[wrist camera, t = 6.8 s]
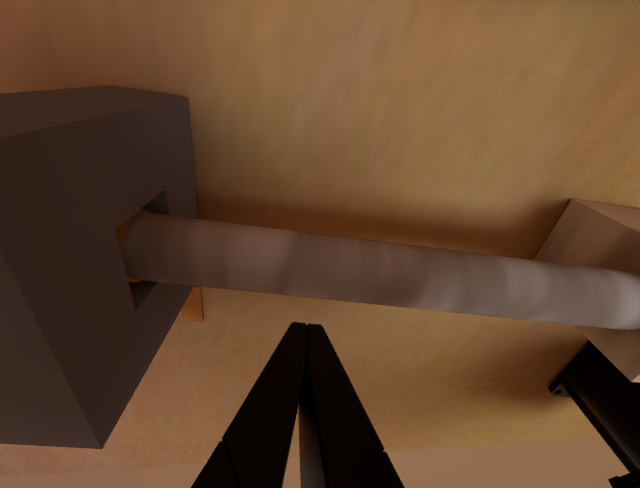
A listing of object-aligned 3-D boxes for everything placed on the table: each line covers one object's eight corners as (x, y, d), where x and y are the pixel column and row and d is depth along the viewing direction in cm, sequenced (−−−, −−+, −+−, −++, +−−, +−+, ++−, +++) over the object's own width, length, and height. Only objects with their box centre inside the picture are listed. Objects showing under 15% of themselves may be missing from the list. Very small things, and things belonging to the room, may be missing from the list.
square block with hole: (202, 271, 16) (102, 449, 9) (148, 265, 16) (-5, 442, 8) (188, 97, 12) (-53, 149, 4) (111, 85, 12) (-297, 116, 4)
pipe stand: (528, 350, 21) (612, 461, 15) (-1, 300, 18) (-158, 415, 12) (641, 208, 15) (851, 298, 9) (-117, 99, 12) (-539, 127, 6)
